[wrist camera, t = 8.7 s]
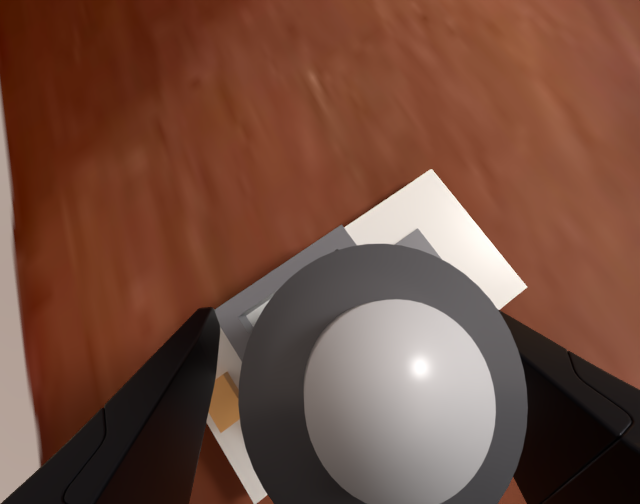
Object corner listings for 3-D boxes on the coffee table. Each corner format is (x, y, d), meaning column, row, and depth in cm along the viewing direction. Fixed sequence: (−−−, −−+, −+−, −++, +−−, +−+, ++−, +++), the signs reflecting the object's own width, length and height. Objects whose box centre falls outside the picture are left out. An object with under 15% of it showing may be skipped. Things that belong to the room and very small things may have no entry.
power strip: (259, 487, 17) (246, 534, 13) (175, 345, 18) (143, 354, 14) (510, 288, 19) (554, 284, 16) (422, 178, 21) (445, 152, 17)
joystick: (361, 363, 17) (607, 570, 3) (288, 372, 16) (235, 645, 3) (352, 290, 17) (520, 222, 4) (282, 297, 17) (221, 246, 4)
